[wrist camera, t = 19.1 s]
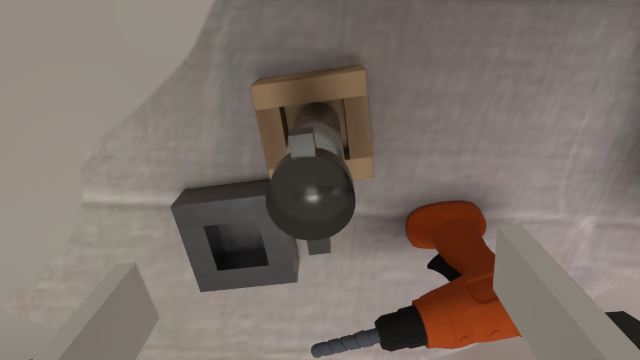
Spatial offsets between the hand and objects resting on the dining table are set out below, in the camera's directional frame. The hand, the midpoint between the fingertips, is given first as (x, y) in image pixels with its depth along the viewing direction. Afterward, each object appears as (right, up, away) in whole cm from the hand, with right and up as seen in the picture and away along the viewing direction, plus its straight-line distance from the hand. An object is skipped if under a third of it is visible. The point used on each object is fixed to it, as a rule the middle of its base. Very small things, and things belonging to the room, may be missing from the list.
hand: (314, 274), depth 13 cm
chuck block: (-8, -1, +24) cm, 25 cm away
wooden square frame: (0, +9, +19) cm, 21 cm away
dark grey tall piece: (0, +8, +19) cm, 21 cm away
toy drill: (+9, -2, +24) cm, 26 cm away
